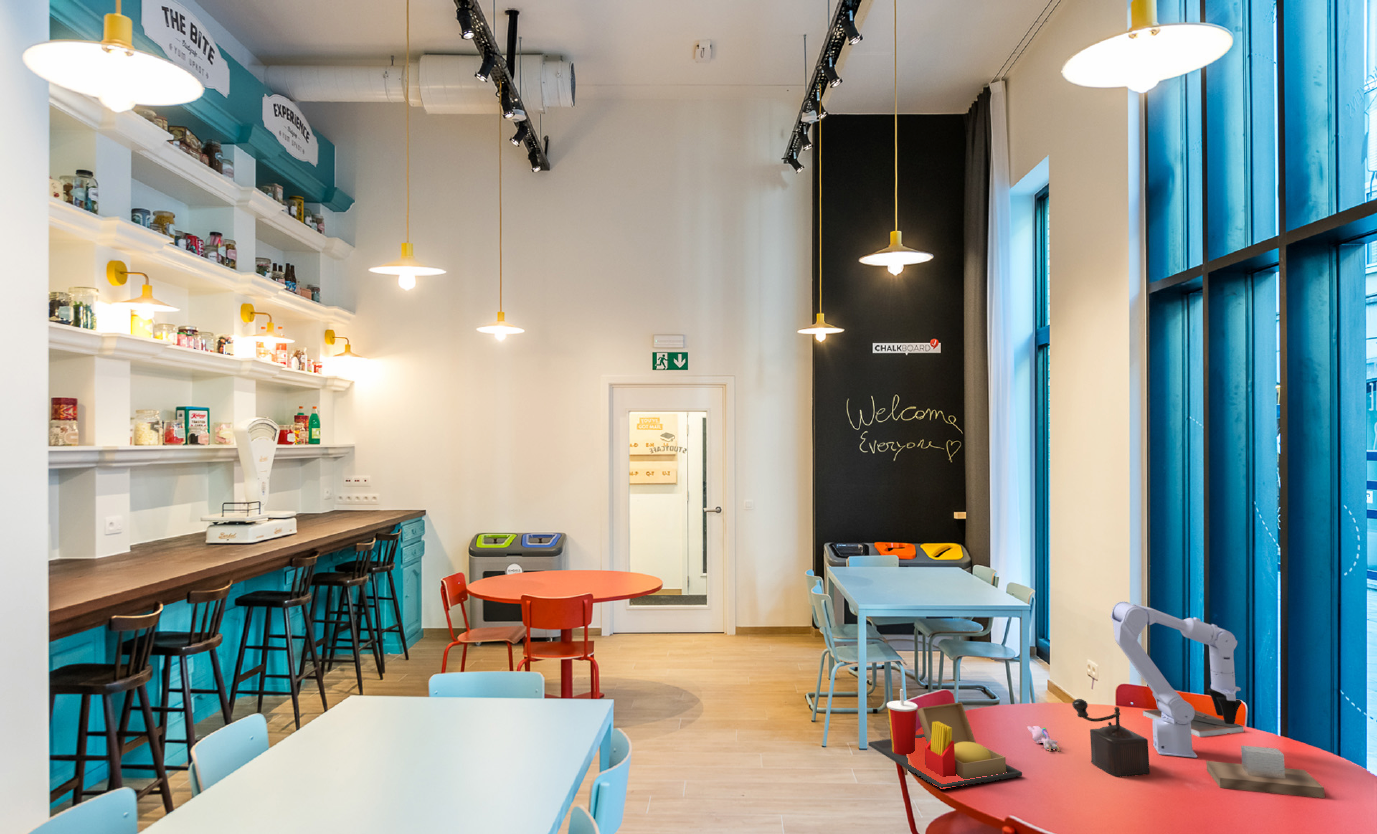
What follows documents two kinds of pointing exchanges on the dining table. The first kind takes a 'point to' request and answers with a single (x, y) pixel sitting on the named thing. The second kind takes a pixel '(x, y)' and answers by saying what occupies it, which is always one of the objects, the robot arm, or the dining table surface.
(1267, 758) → the aluminium block
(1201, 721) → the picture frame
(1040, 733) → the unicorn plush toy
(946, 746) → the fast food meal
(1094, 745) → the dark brown coffee grinder
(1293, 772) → the walnut plinth
